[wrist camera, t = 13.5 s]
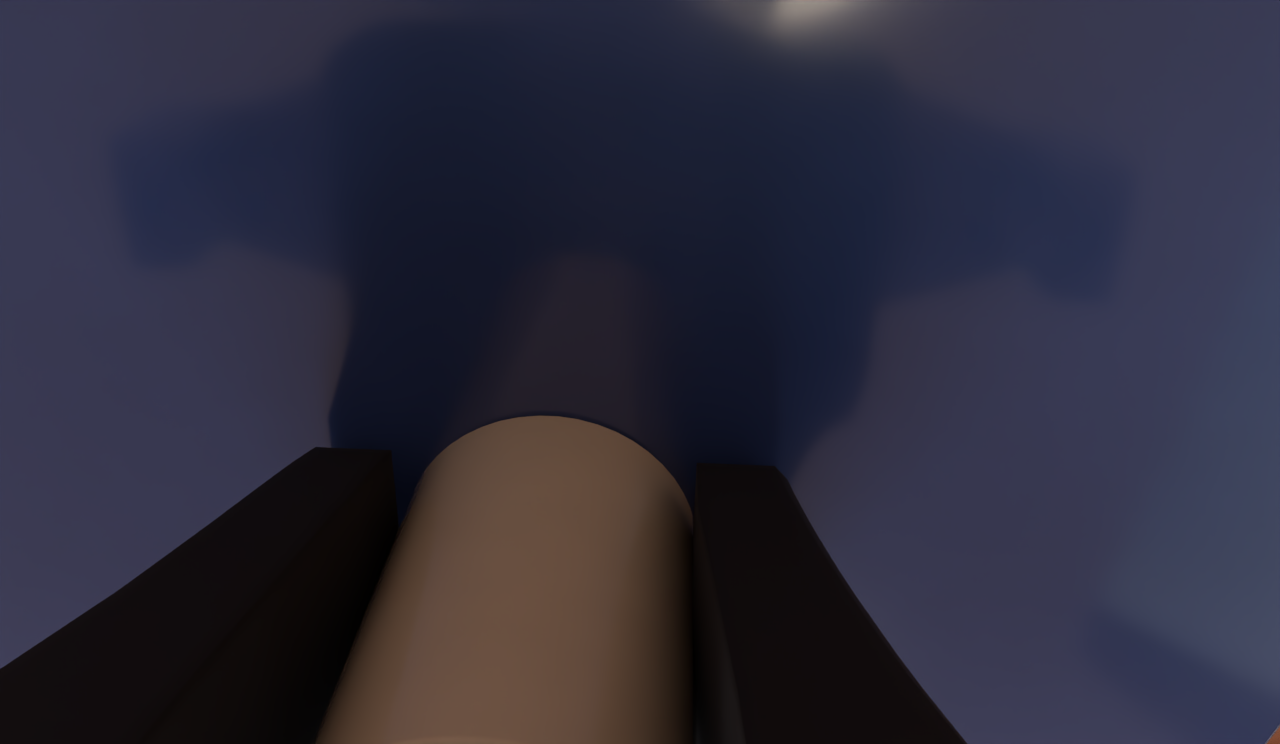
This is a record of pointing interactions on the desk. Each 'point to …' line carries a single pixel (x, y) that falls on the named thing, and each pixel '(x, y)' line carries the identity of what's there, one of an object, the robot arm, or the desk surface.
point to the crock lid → (668, 335)
